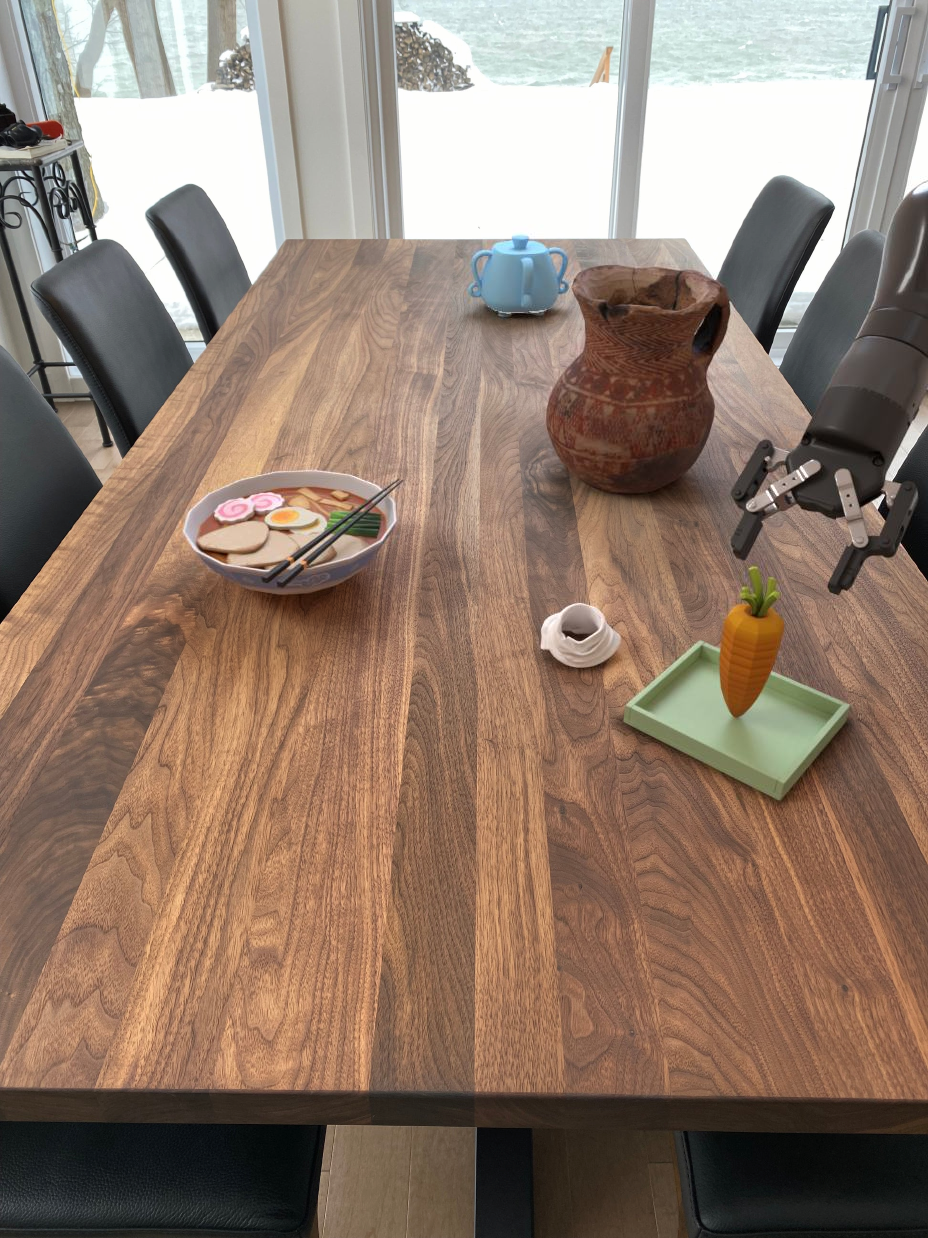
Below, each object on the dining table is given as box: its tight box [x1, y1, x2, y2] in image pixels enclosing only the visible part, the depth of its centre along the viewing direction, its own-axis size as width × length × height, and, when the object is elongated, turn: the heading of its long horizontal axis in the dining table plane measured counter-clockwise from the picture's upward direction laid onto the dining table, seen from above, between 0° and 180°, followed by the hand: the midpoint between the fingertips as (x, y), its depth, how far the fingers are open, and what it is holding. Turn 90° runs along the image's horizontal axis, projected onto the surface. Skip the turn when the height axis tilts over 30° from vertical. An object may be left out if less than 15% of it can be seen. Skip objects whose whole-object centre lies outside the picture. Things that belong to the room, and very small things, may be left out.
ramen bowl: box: [181, 469, 404, 596], centre depth 106 cm, size 25×23×8 cm
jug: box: [545, 264, 731, 495], centre depth 123 cm, size 22×21×25 cm
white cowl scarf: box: [540, 602, 622, 668], centre depth 96 cm, size 8×7×5 cm
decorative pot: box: [468, 234, 570, 318], centre depth 186 cm, size 16×16×14 cm
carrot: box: [719, 566, 786, 718], centre depth 84 cm, size 5×5×15 cm
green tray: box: [622, 639, 851, 802], centre depth 87 cm, size 15×13×2 cm
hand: (784, 573), depth 82 cm, fingers open, 8 cm apart
